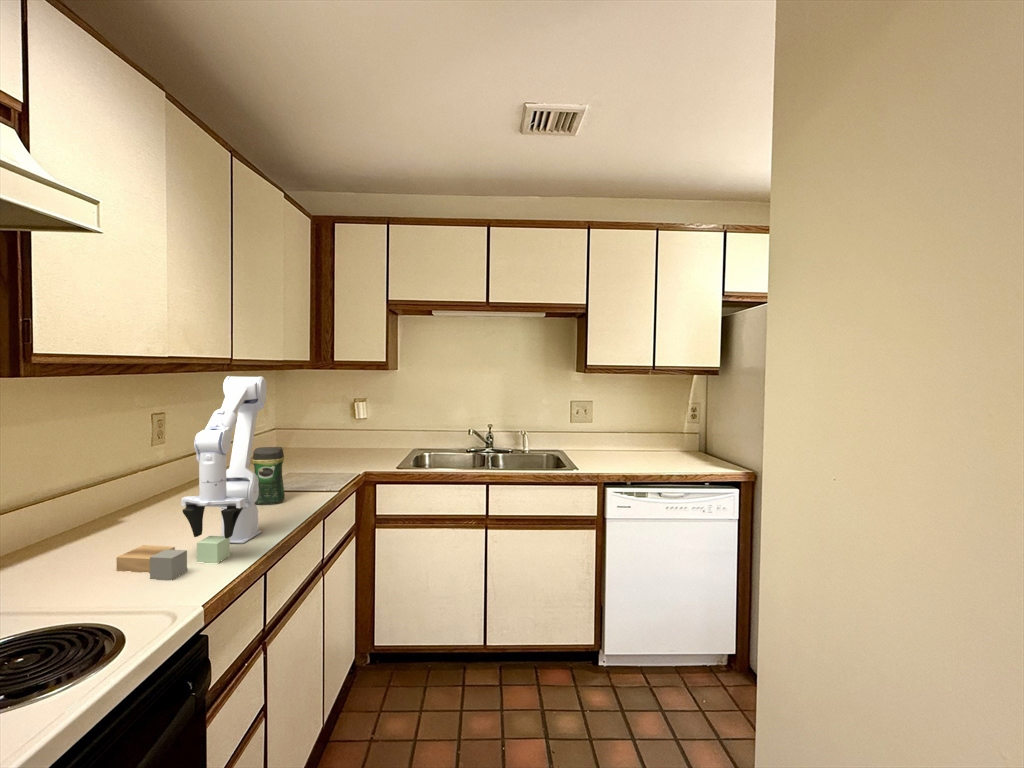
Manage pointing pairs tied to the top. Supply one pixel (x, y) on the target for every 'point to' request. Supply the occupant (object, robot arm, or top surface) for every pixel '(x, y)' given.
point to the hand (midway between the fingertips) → (213, 536)
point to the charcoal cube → (168, 564)
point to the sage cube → (213, 549)
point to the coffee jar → (269, 474)
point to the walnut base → (139, 558)
